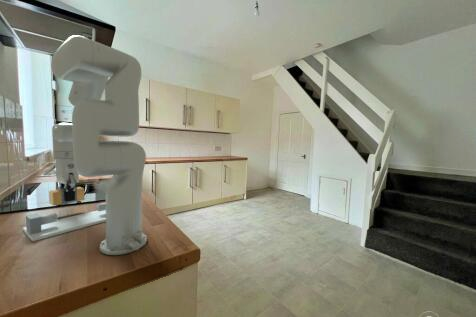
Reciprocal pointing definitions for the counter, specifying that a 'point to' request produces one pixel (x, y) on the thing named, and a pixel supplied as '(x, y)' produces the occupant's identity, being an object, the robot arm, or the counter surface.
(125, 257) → the counter surface
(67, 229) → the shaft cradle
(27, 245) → the counter surface
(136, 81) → the robot arm
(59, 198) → the block
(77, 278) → the counter surface
